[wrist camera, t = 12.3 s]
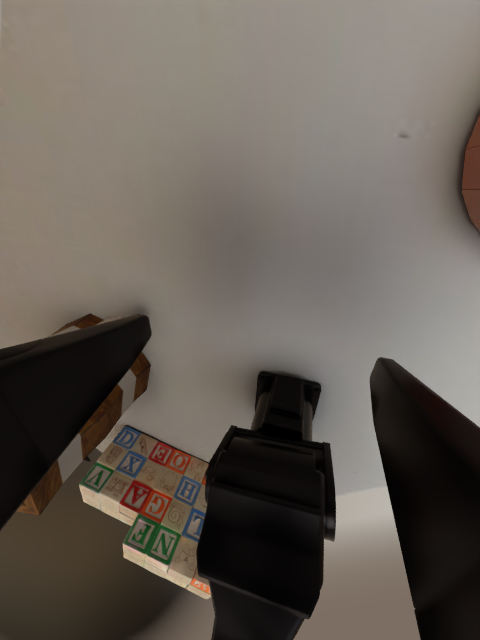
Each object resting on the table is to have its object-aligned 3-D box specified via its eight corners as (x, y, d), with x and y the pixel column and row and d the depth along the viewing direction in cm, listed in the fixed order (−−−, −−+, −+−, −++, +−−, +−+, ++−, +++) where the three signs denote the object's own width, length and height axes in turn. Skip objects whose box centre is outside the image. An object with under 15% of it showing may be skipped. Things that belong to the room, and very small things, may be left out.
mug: (127, 407, 36) (26, 524, 24) (54, 349, 34) (-98, 442, 22) (196, 342, 26) (84, 487, 13) (99, 254, 24) (-142, 326, 11)
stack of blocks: (125, 443, 42) (63, 526, 32) (125, 423, 39) (56, 509, 28) (235, 496, 40) (206, 602, 30) (245, 480, 37) (217, 594, 26)
